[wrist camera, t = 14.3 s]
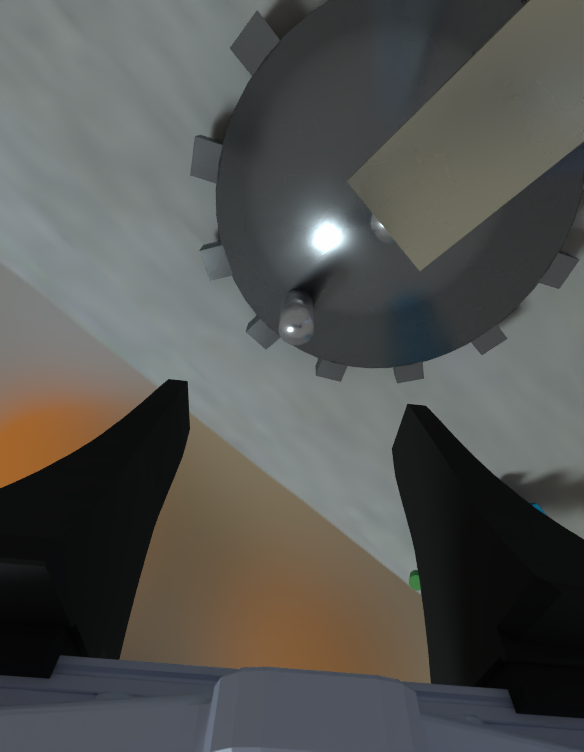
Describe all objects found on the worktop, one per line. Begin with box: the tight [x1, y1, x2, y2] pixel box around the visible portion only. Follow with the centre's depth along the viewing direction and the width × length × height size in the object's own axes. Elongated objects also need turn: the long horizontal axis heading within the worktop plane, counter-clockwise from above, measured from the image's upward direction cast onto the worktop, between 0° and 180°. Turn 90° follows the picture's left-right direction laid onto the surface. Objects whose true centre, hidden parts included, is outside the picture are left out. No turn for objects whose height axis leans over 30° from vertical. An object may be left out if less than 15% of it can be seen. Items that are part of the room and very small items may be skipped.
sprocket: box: [190, 0, 584, 383], centre depth 17 cm, size 18×18×4 cm
